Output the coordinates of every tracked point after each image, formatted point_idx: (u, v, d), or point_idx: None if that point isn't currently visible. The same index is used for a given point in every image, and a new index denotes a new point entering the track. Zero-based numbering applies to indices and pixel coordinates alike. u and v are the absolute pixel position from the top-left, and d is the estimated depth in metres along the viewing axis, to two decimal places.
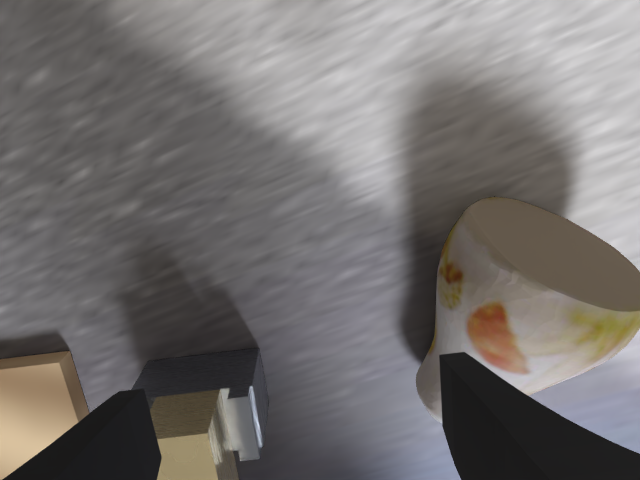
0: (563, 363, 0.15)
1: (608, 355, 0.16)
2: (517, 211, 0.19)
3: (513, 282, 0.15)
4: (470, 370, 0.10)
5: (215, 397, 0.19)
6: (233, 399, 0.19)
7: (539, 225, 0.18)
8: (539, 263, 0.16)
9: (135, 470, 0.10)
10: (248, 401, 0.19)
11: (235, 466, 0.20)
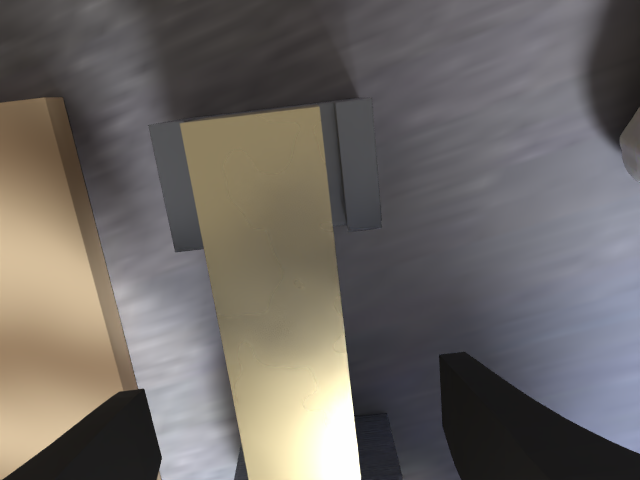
0: None
1: None
2: None
3: None
4: (470, 370, 0.10)
5: (313, 105, 0.11)
6: (346, 103, 0.11)
7: None
8: None
9: (135, 470, 0.10)
10: (371, 111, 0.11)
11: None
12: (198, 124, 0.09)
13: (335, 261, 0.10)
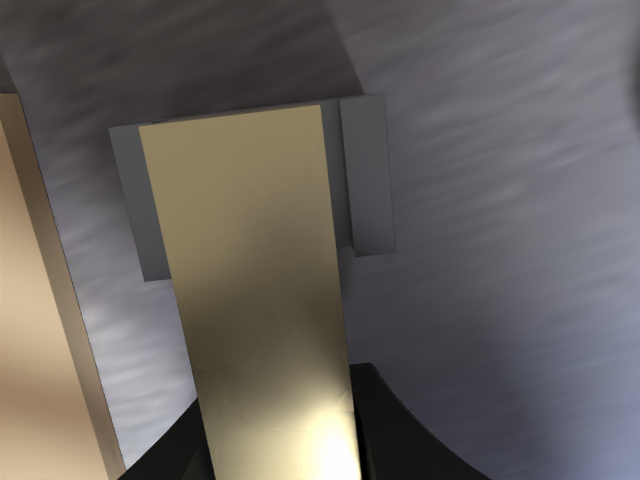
0: None
1: None
2: None
3: None
4: (364, 382, 0.10)
5: None
6: (352, 101, 0.09)
7: None
8: None
9: None
10: (383, 110, 0.09)
11: None
12: (162, 127, 0.07)
13: (340, 300, 0.08)
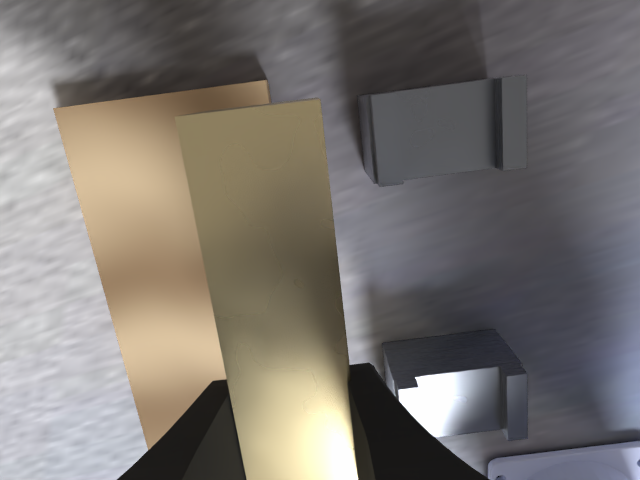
0: None
1: None
2: None
3: None
4: (363, 382, 0.10)
5: (314, 98, 0.10)
6: (509, 78, 0.15)
7: None
8: None
9: (237, 458, 0.10)
10: (525, 83, 0.15)
11: None
12: (194, 117, 0.09)
13: (336, 260, 0.09)
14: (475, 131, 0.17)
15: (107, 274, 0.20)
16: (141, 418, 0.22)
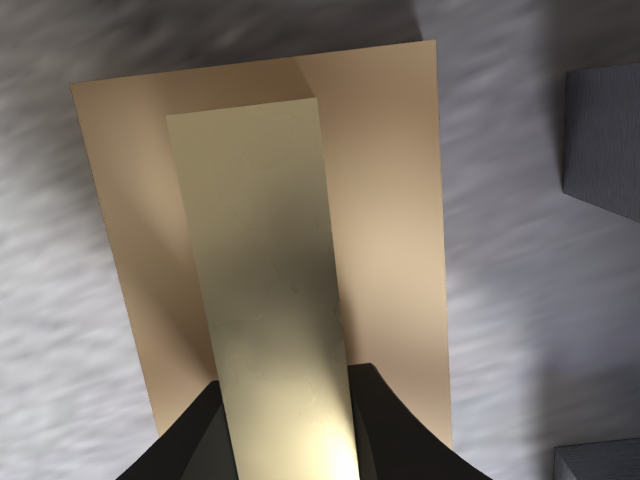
0: None
1: None
2: None
3: None
4: (364, 382, 0.10)
5: (310, 97, 0.10)
6: None
7: None
8: None
9: None
10: None
11: None
12: (185, 116, 0.08)
13: (334, 264, 0.09)
14: None
15: (150, 353, 0.12)
16: None
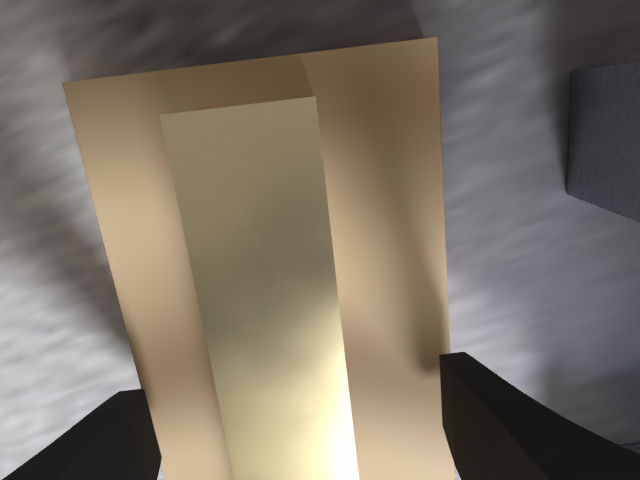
0: None
1: None
2: None
3: None
4: (470, 370, 0.10)
5: (309, 96, 0.10)
6: None
7: None
8: None
9: (135, 470, 0.10)
10: None
11: None
12: (180, 116, 0.08)
13: (333, 268, 0.09)
14: None
15: (146, 357, 0.12)
16: None
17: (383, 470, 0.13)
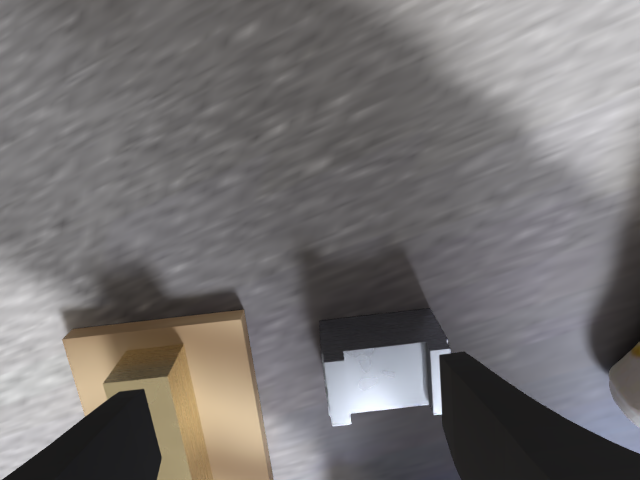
0: None
1: None
2: None
3: None
4: (470, 370, 0.10)
5: (178, 350, 0.21)
6: (436, 351, 0.19)
7: None
8: None
9: (135, 470, 0.10)
10: (449, 353, 0.19)
11: (198, 415, 0.22)
12: (111, 383, 0.19)
13: (181, 440, 0.20)
14: (411, 378, 0.20)
15: None
16: None
17: None
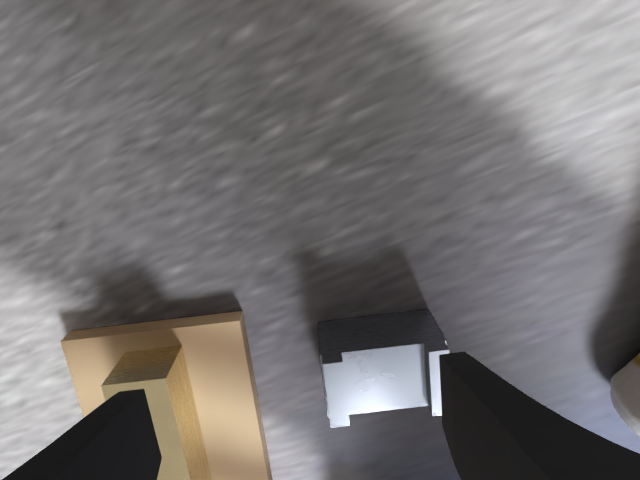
0: None
1: None
2: None
3: None
4: (470, 370, 0.10)
5: (177, 351, 0.21)
6: (434, 352, 0.19)
7: None
8: None
9: (135, 470, 0.10)
10: None
11: (197, 417, 0.22)
12: (109, 385, 0.19)
13: (180, 441, 0.20)
14: (410, 380, 0.20)
15: None
16: None
17: None
